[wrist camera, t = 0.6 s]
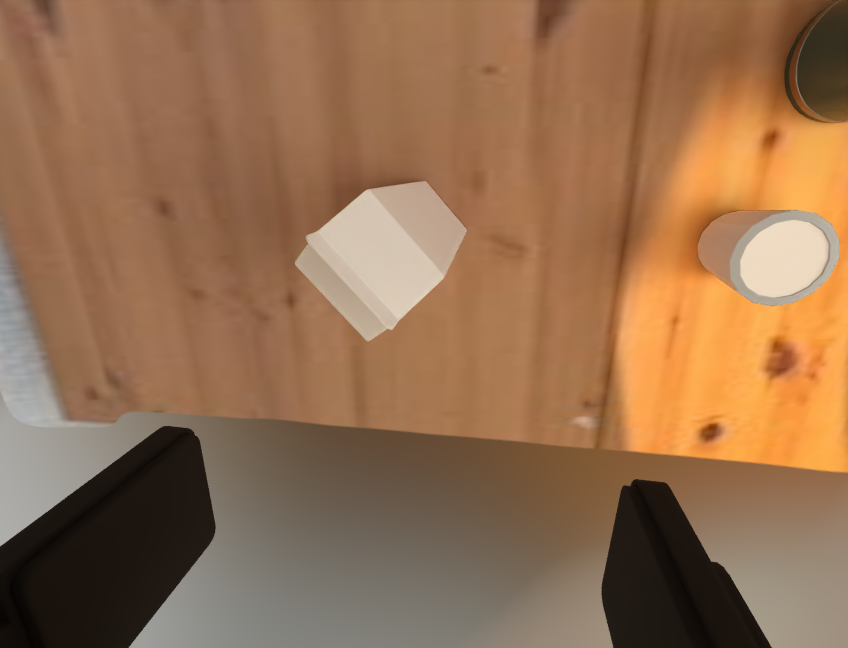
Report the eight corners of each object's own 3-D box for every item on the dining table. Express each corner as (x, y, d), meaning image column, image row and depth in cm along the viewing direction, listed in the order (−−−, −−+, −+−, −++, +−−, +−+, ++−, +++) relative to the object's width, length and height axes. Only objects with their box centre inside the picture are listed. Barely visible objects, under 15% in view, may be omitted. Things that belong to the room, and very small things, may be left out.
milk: (425, 180, 39) (347, 186, 18) (468, 230, 40) (440, 291, 19) (379, 224, 41) (262, 275, 20) (420, 272, 42) (349, 366, 21)
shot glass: (719, 190, 35) (769, 195, 29) (797, 220, 35) (865, 231, 29) (673, 266, 38) (710, 286, 31) (746, 294, 38) (798, 320, 31)
